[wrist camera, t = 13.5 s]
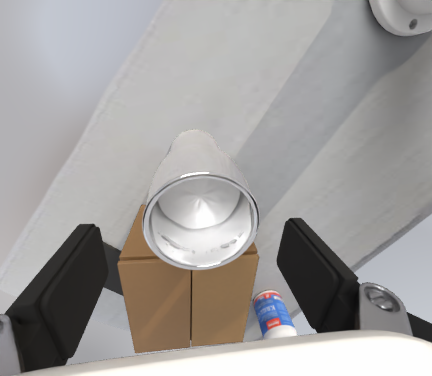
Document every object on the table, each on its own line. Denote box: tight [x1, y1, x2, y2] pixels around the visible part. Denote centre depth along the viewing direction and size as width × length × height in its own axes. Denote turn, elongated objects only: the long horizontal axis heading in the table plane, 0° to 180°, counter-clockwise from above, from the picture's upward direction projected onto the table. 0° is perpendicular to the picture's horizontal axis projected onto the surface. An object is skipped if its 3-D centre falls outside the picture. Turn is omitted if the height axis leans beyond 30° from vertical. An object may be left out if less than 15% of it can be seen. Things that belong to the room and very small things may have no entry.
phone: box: [103, 242, 124, 296], centre depth 31 cm, size 7×1×15 cm
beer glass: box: [142, 129, 260, 270], centre depth 18 cm, size 7×7×15 cm
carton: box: [117, 205, 257, 353], centre depth 26 cm, size 13×14×10 cm
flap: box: [191, 254, 259, 347], centre depth 22 cm, size 6×14×1 cm, turn 177°
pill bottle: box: [254, 290, 297, 340], centre depth 34 cm, size 6×5×10 cm
